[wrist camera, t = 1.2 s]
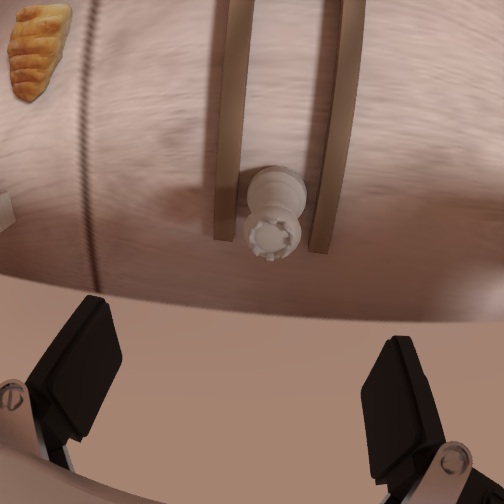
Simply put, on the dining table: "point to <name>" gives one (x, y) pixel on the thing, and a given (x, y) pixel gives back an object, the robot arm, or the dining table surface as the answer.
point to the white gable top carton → (6, 211)
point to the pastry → (37, 47)
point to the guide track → (336, 131)
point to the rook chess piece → (274, 212)
